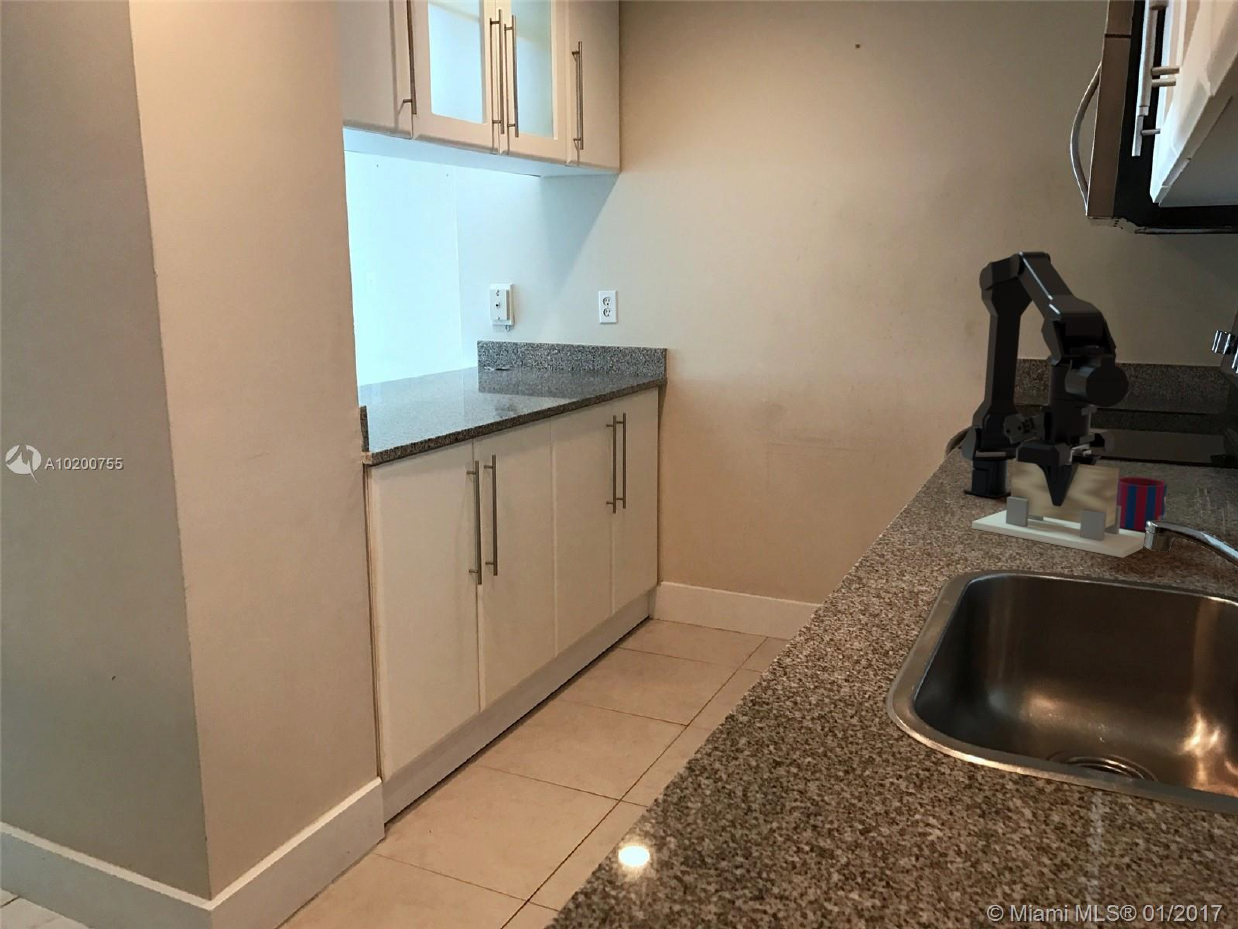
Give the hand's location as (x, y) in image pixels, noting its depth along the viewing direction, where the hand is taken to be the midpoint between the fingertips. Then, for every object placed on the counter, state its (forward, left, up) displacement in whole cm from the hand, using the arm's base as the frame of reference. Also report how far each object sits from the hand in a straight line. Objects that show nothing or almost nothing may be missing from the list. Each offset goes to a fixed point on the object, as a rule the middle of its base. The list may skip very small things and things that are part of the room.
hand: (1062, 504), depth 140 cm
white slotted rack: (0, 0, -5) cm, 5 cm away
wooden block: (0, 0, -2) cm, 2 cm away
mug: (-13, +4, -5) cm, 14 cm away
